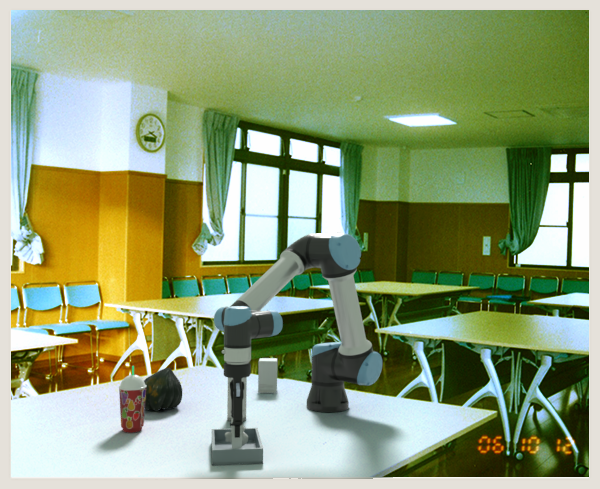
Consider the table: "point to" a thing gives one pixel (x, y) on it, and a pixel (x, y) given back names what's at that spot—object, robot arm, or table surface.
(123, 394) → the smoothie
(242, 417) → the travel mug
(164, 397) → the squash
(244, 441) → the white animal figurine
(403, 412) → the table surface
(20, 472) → the table surface
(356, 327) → the robot arm
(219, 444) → the bin
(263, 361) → the supplement box
